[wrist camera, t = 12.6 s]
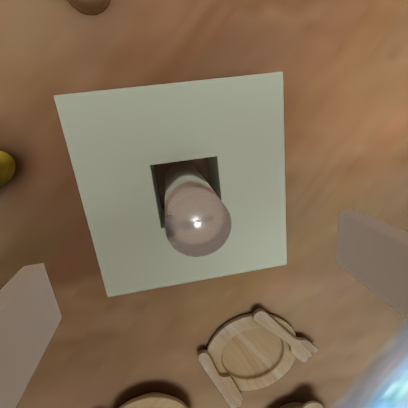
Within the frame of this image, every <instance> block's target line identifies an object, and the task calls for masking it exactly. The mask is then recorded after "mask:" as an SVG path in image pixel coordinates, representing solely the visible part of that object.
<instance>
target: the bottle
mask: <svg viewBox="0 0 408 408" xmlns="http://www.w3.org/2000/svg"><path fill="white" fill-rule="evenodd" d="M14 172H15V161H14V160H13V158H12V157H11V156H10V155H9V154H8V153H5V152H3V151H0V188H1V187H3V186H4V185H5V184H7V183H8V182H9V181H10V180H11V179H12V178H13V176H14Z"/></svg>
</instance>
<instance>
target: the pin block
mask: <svg viewBox="0 0 408 408" xmlns="http://www.w3.org/2000/svg"><path fill="white" fill-rule="evenodd" d="M54 99H55V103H56V107H57V110H58V114H59V118H60V121H61V125H62V129H63V133H64V136H65V140H66V144H67V148H68V151H69V155H70V159H71V162H72V166H73V170H74V174H75V177H76V181H77V185H78V188H79V192H80V196H81V200H82V203H83V207H84V211H85V215H86V218H87V222H88V226H89V229H90V233H91V237H92V241H93V244H94V248H95V252H96V255H97V259H98V263H99V267H100V270H101V274H102V278H103V282H104V285H105V289H106V293H107V296H108V297H111V296H117V295H122V294H128V293H133V292H139V291H144V290H150V289H155V288H161V287H166V286H172V285H177V284H182V283H188V282H193V281H199V280H204V279H210V278H215V277H221V276H226V275H232V274H237V273H243V272H248V271H253V270H259V269H264V268H270V267H275V266H281V265H286V264H287V255H286V204H285V154H284V103H283V72H274V73H265V74H255V75H245V76H236V77H226V78H216V79H207V80H197V81H187V82H178V83H168V84H158V85H149V86H139V87H130V88H120V89H110V90H101V91H91V92H81V93H72V94H62V95H54ZM207 157H208V166H209V176H210V185H211V188H212V189H213V190H214V192H215V193H216V194H217V196H218V197H219V198H220V200H221V201H222V202H223V204H224V205H225V206H226V208H227V209H228V211H229V214H230V217H231V231H230V234H229V237H228V239H227V241H226V242H225V243H224V245H223V246H222V247H221V248H219V249H218V250H217V251H215V252H213V253H211V254H209V255H206V256H201V257H192V256H187V255H184V254H182V253H180V252H178V251H177V250H176V249H174V248H173V247H172V245H171V244H170V243H169V241H168V239H167V237H166V233H165V208H162V207H161V201H160V195H159V189H158V183H157V178H156V172H155V166H154V165H155V164H163V163H170V162H178V161H185V160H192V159H200V158H207Z"/></svg>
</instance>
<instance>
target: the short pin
mask: <svg viewBox="0 0 408 408" xmlns="http://www.w3.org/2000/svg"><path fill="white" fill-rule="evenodd" d="M68 2H69V3H70V4H71V5H72V6H73V7H74V8H75V9H76V10H77V11H79V12H81V13H83V14H86V15H97V14H100V13H102V12H103V11H104V10H105V9H106V8H107V7H108V5H109V3H110V0H68Z"/></svg>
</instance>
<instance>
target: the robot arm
mask: <svg viewBox="0 0 408 408" xmlns="http://www.w3.org/2000/svg"><path fill="white" fill-rule="evenodd" d="M336 264H338V265H339V266H340V267H342V268H343V269H344V270H345V271H347V272H348V273H349V274H350V275H352V276H353V277H354V278H356V279H357V280H358V281H359V282H361V283H362V284H363V285H365V286H366V287H367V288H368V289H370V290H371V291H372V292H374V293H375V294H376V295H377V296H379V297H380V298H381V299H383V300H384V301H385V302H386V303H388V304H389V305H390V306H392V307H393V308H394V309H395V310H397V311H398V312H399V313H400V314H402V315H403V316H404V317H406V318H407V319H408V232H406V231H403V230H401V229H399V228H396V227H394V226H392V225H389V224H387V223H385V222H382V221H380V220H378V219H375V218H373V217H371V216H368V215H366V214H364V213H361V212H359V211H357V210H354V209H352V210H346V211H341V212H339V218H338V241H337V263H336ZM61 319H62V316H61V313H60V310H59V307H58V305H57V302H56V299H55V296H54V293H53V290H52V287H51V284H50V281H49V278H48V275H47V272H46V269H45V266H44V263H39V264H33V265H28V266H23V267H22V268H21V269H20V270H19V271H18V272H17V273H16V274H15V275H14V276H13V277H12V278H11V279H10V280H9V281H8V282H7V283H6V284H5V286H4V287H3V288H2V289H1V290H0V408H16V406H17V404H18V402H19V401H20V399H21V397H22V395H23V393H24V391H25V389H26V387H27V385H28V383H29V381H30V379H31V377H32V375H33V373H34V371H35V369H36V367H37V365H38V364H39V362H40V360H41V358H42V356H43V354H44V352H45V350H46V348H47V346H48V344H49V342H50V340H51V338H52V336H53V334H54V332H55V330H56V329H57V327H58V325H59V323H60V321H61Z"/></svg>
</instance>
